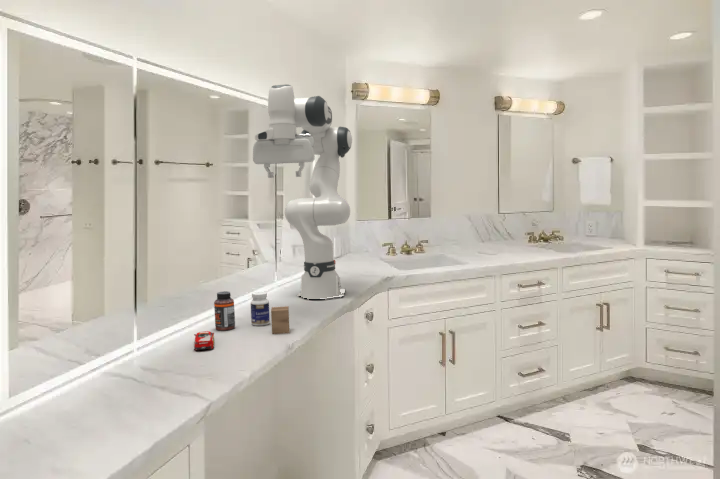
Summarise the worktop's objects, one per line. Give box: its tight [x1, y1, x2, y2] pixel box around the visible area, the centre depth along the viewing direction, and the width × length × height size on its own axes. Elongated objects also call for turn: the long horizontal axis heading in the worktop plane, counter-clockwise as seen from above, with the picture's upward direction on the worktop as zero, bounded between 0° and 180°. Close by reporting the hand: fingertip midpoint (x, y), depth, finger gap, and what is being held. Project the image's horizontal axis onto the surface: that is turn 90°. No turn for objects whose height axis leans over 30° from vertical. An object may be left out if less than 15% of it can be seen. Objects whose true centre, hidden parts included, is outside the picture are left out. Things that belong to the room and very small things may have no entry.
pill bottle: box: [250, 291, 271, 327], centre depth 170 cm, size 6×6×10 cm
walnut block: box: [270, 305, 290, 335], centre depth 160 cm, size 5×5×7 cm
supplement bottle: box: [213, 291, 236, 332], centre depth 165 cm, size 6×6×11 cm
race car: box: [193, 330, 215, 351], centre depth 148 cm, size 13×5×4 cm, turn 14°
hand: (284, 177), depth 177 cm, fingers open, 8 cm apart
